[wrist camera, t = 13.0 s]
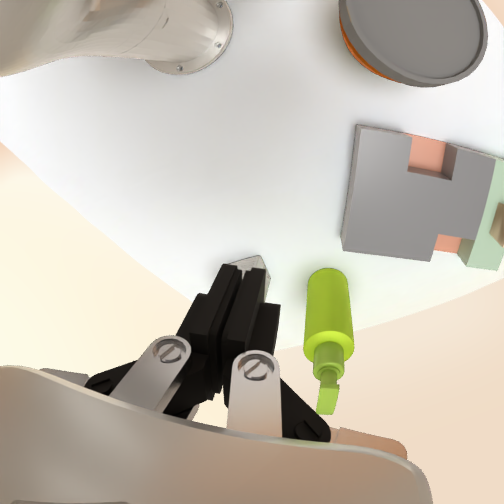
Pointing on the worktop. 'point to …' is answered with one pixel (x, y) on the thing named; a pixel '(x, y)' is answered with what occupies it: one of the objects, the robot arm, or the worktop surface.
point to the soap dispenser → (328, 333)
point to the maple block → (498, 225)
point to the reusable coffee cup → (415, 38)
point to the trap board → (422, 199)
